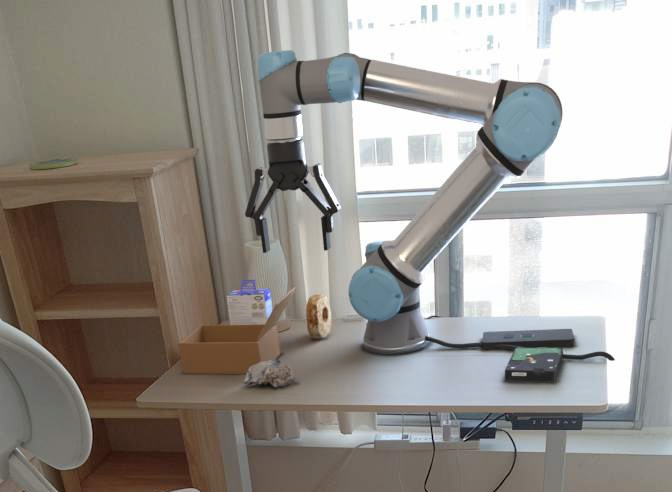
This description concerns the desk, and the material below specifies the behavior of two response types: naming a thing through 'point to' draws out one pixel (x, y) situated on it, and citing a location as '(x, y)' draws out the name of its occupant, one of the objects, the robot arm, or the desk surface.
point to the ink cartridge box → (249, 304)
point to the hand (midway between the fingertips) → (296, 250)
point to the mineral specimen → (269, 374)
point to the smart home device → (529, 338)
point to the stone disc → (318, 316)
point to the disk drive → (534, 364)
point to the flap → (276, 313)
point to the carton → (227, 348)
